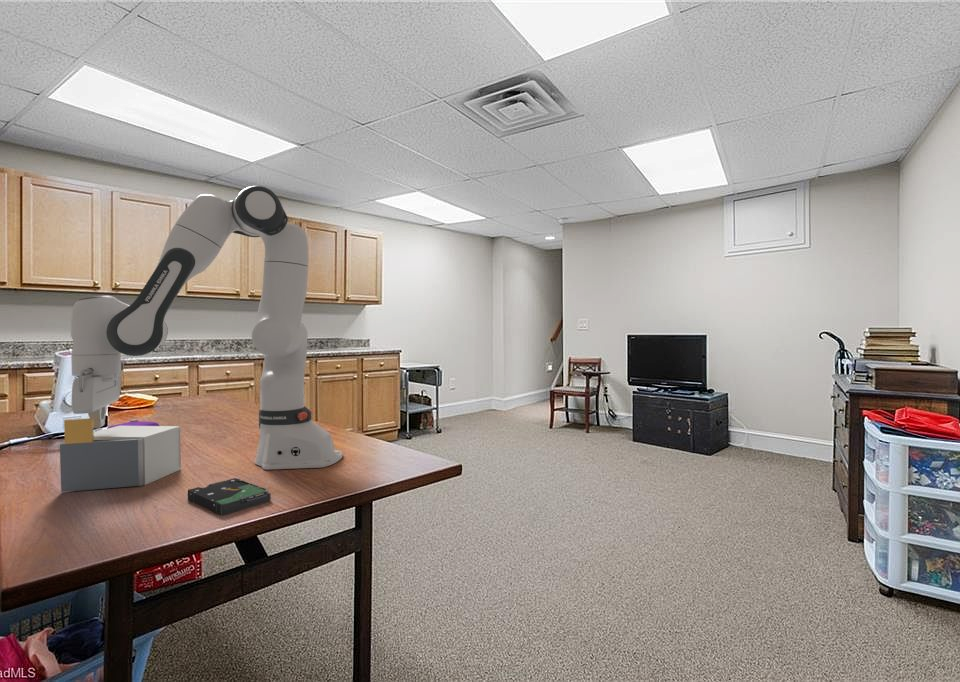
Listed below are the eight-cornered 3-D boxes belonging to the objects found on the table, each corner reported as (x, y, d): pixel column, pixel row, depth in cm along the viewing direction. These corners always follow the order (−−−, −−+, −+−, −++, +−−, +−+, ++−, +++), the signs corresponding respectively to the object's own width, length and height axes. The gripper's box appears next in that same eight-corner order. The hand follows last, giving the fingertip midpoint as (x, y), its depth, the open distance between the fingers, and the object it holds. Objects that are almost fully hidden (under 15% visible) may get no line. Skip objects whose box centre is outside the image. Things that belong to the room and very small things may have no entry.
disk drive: (186, 503, 101) (221, 518, 93) (186, 490, 101) (221, 504, 93) (235, 489, 110) (272, 502, 101) (235, 477, 110) (272, 489, 101)
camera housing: (183, 468, 124) (182, 425, 124) (145, 484, 111) (144, 437, 111) (123, 467, 125) (122, 424, 125) (79, 483, 112) (77, 436, 112)
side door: (144, 484, 111) (142, 415, 111) (142, 485, 110) (141, 416, 110) (63, 490, 107) (61, 419, 106) (60, 492, 106) (58, 420, 105)
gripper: (98, 370, 103) (99, 435, 103) (125, 363, 121) (126, 418, 122) (60, 371, 100) (62, 437, 101) (94, 364, 119) (96, 420, 119)
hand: (98, 427), depth 111 cm, fingers closed
